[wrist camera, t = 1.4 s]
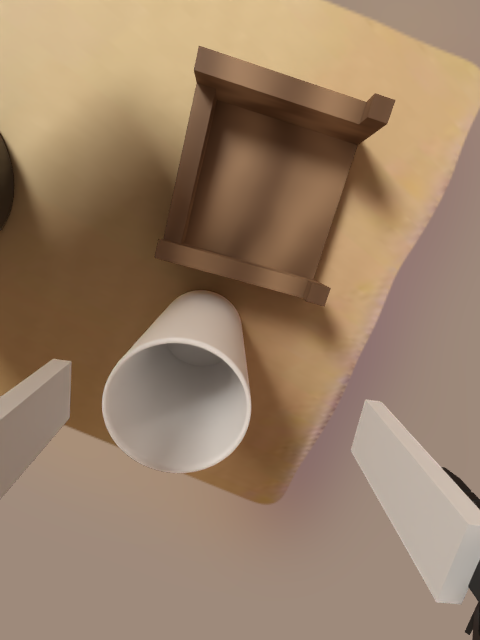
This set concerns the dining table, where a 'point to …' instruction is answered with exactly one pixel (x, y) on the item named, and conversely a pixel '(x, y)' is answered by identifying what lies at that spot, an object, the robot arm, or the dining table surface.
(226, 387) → the cup
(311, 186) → the tray
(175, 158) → the dining table surface
